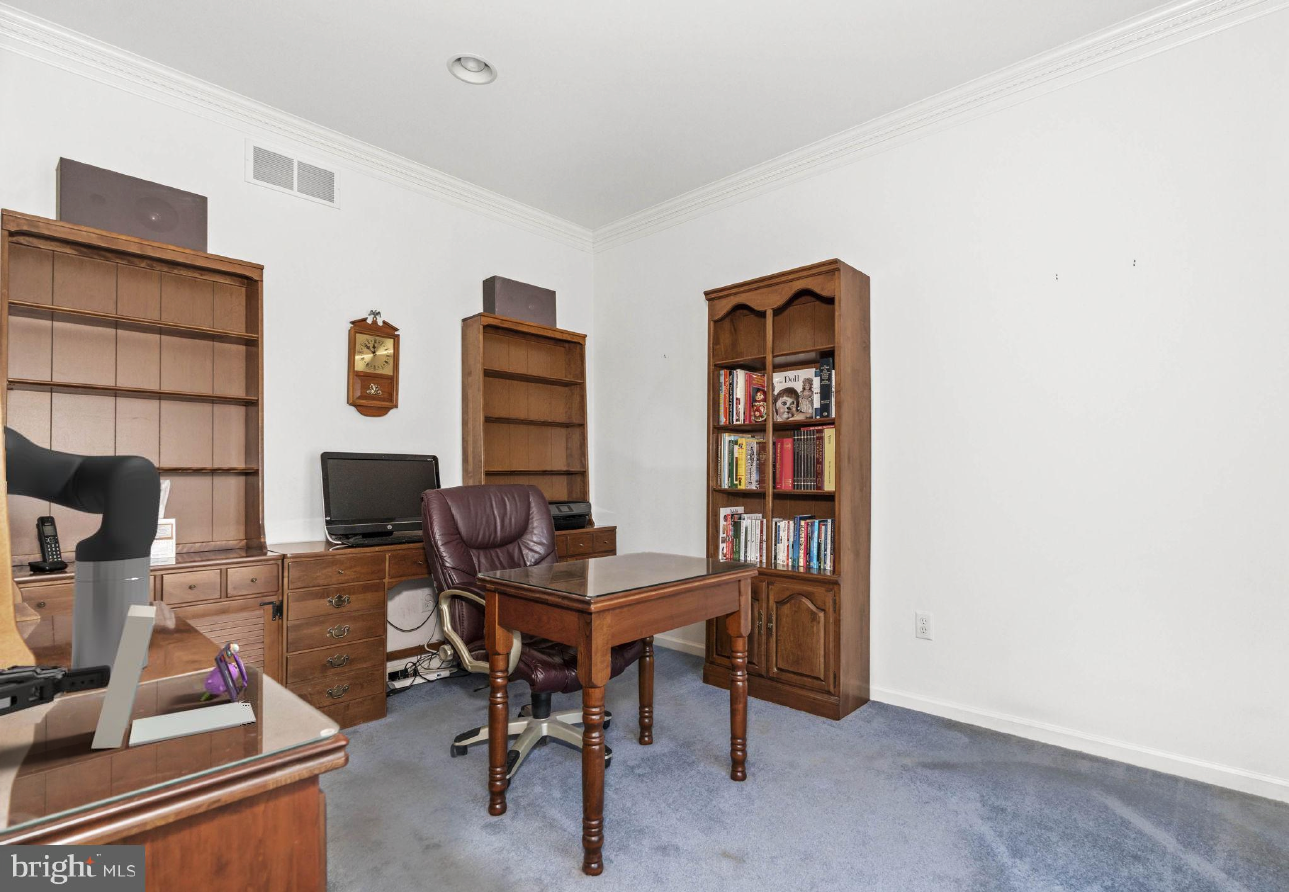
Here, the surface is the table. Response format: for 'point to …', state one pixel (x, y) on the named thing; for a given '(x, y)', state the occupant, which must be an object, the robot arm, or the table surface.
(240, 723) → the mat
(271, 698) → the table surface
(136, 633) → the off-white rectangular block
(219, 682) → the purple frame
